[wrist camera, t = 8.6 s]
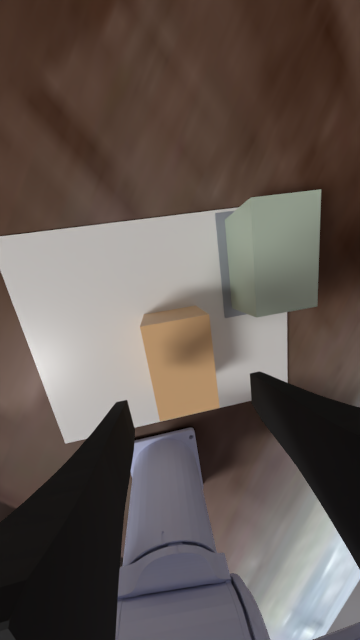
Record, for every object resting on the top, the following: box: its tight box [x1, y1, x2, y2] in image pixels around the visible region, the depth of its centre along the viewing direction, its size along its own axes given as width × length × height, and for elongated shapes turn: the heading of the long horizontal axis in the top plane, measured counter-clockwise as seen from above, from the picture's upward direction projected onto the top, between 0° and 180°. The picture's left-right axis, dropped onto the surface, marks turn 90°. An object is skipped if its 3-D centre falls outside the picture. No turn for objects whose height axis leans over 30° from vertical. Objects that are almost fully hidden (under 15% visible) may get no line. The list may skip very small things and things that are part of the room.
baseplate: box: [0, 207, 288, 443], centre depth 18 cm, size 20×25×1 cm
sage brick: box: [225, 189, 321, 318], centre depth 15 cm, size 8×5×4 cm, turn 9°
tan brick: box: [140, 306, 220, 421], centre depth 16 cm, size 8×5×4 cm, turn 9°
